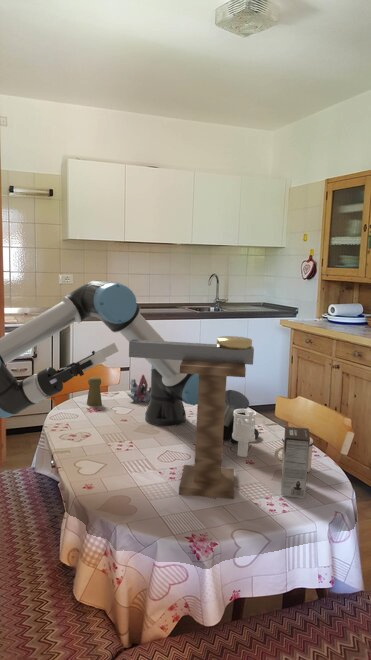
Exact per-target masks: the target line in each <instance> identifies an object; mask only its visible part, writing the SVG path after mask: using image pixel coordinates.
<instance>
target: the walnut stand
mask: <svg viewBox="0 0 371 660" xmlns="http://www.w3.org/2000/svg"><path fill="white" fill-rule="evenodd" d="M246 370H247V369H246V364H233V363H217V362H201V361H184V360H182V362H181V364H180V373H184V374H199V385H198V404H197V410H196V411H197V412H196V430H195V448H194V449H195V451H194V465H192V464H191V465H189V464H184V466H183V469H182V473H181V477H180V482H179V487H178V495H182V496H183V495H184V496H185V495H186V496H196V497H208V498H220V499H232V500H233V499H234V498H235V497H234V496H235V469H234V468H232V467H231V468H229V467H222V464H223V447H224V445H223V444H224V440H223V431H224V413H225V395H226V391H227V377H235V378H246Z"/></svg>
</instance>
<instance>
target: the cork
mask: <svg viewBox="0 0 371 660" xmlns="http://www.w3.org/2000/svg"><path fill="white" fill-rule="evenodd" d="M87 381H88V382H87V384H88V386H89V387H88V393H87V401H86V405H87V406H88V407H89V406H90V407H98V406H101V405H102V392H101V385H102V379H101V377H99V376H91V377H89V378H88V380H87Z"/></svg>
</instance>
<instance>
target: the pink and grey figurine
mask: <svg viewBox="0 0 371 660" xmlns="http://www.w3.org/2000/svg"><path fill="white" fill-rule="evenodd" d="M136 381H137V380H136V379H135V378H133V379H132V378H131V379H130V381H129V384H130V385H131V386H130V393H127V396H128V397H129V398H130V399H131V400H132V401H133V402H135V403H144V404H145V403H147V404H148V403H149V402H150V399H151V386H150V387H149V386H148V381H147V379H146V377H145V375H144V374H141V377H140V380H139V382H136ZM148 387H149V388H148Z"/></svg>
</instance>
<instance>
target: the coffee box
mask: <svg viewBox="0 0 371 660" xmlns="http://www.w3.org/2000/svg"><path fill="white" fill-rule="evenodd" d="M283 436H284V448H283V461H282V467H281V478H280V479H281V481H280V482H281V483H280V484H281V485H280V486H281V487H280V488H281V489H280V491H281V492H280V493H281V494H280V495H284V496H283V497H286V496H291V497H290V498H294V497H299V498H298V499H303V498H305V499H306V492H307V479H308V473H307V469H308V458H309V446H310V430H309V428H306V427H294V426H285V427H284V435H283Z"/></svg>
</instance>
